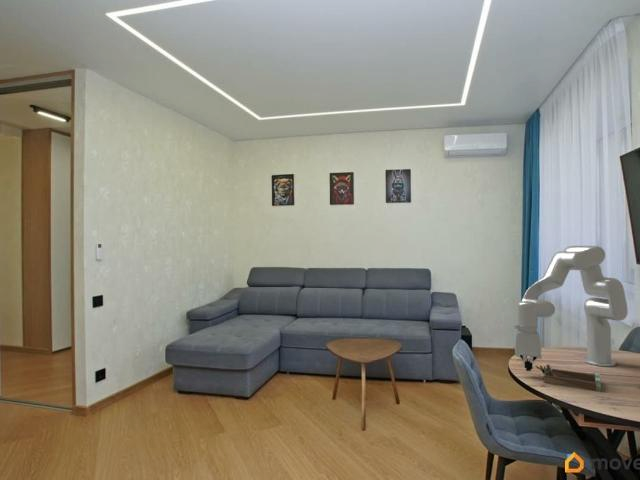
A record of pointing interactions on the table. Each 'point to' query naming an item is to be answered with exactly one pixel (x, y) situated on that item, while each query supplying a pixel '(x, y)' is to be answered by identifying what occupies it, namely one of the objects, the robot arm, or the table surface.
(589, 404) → the table surface
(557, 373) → the walnut guide
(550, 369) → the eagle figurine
